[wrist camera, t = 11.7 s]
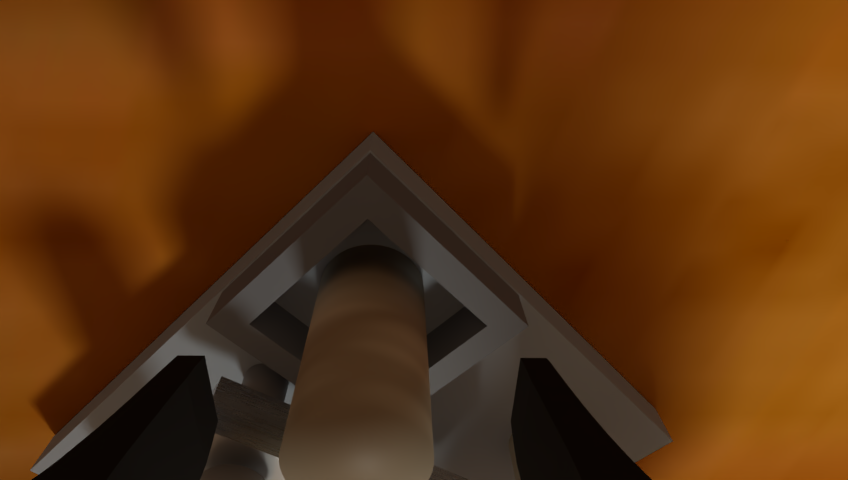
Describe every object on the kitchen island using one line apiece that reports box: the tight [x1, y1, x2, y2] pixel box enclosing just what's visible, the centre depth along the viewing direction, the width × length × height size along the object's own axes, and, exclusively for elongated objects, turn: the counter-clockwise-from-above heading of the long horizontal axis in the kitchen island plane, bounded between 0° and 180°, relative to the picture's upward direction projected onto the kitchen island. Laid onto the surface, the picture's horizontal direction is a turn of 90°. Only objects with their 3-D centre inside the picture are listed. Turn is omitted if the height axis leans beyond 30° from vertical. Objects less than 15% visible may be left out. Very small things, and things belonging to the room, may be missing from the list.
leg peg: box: [279, 245, 434, 480], centre depth 13 cm, size 3×3×6 cm
